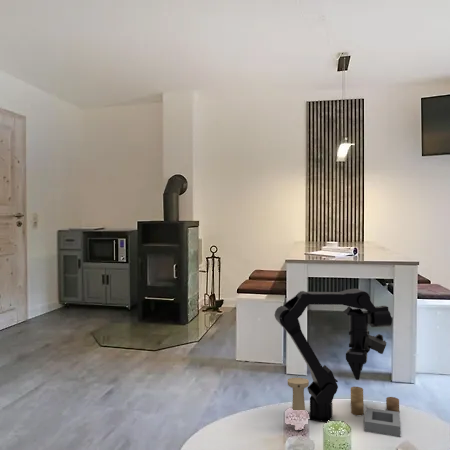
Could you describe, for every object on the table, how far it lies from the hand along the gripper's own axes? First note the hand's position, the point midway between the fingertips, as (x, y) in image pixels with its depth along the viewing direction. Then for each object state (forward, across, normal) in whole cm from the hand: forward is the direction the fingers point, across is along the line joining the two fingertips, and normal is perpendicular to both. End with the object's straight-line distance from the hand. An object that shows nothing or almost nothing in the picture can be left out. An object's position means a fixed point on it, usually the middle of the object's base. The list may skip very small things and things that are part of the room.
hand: (358, 374), depth 140 cm
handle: (+13, -17, +16) cm, 27 cm away
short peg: (+13, +6, -10) cm, 17 cm away
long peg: (+13, 0, +1) cm, 13 cm away
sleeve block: (+13, -6, -8) cm, 16 cm away
